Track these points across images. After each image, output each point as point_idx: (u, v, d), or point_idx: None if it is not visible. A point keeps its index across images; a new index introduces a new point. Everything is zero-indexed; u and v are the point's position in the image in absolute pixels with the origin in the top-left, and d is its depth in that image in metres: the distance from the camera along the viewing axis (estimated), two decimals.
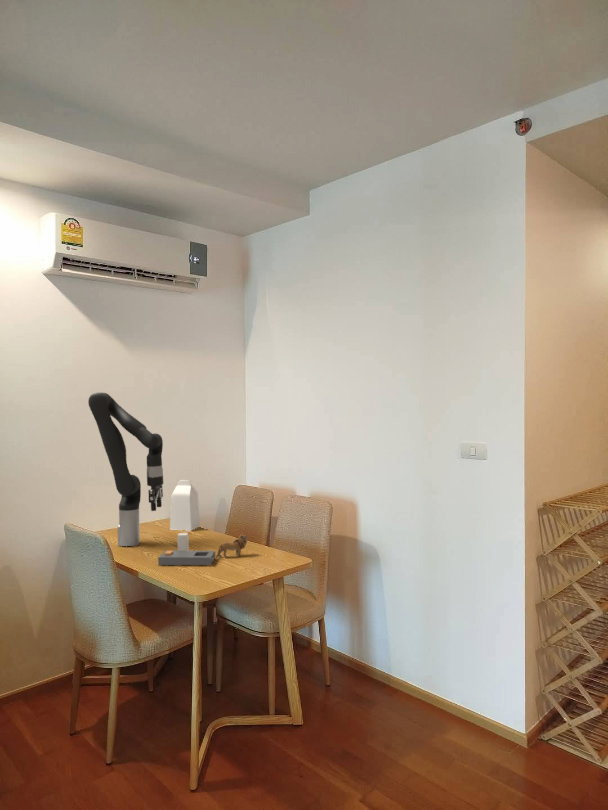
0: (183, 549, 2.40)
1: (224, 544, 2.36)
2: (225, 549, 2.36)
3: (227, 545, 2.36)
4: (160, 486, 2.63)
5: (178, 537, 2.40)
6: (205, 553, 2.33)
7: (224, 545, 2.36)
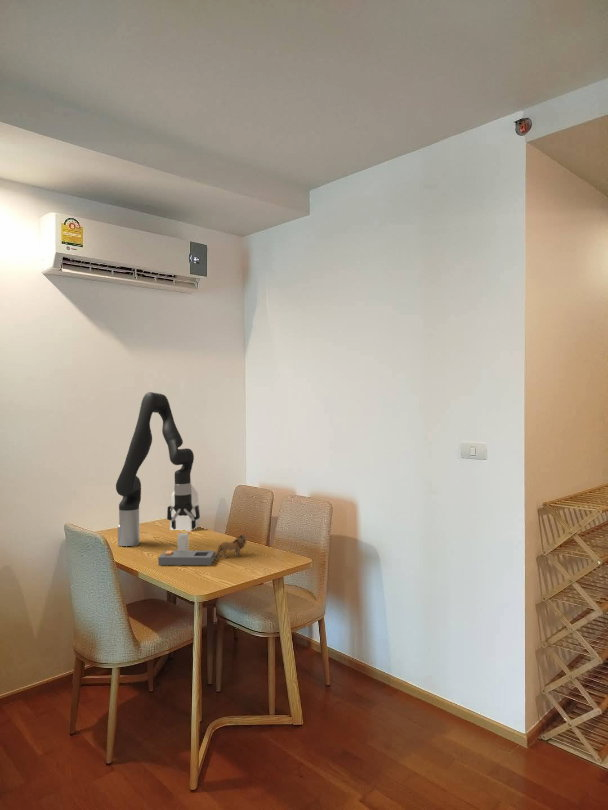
0: (183, 549, 2.40)
1: (224, 544, 2.36)
2: (225, 549, 2.36)
3: (227, 545, 2.36)
4: None
5: (178, 537, 2.40)
6: (205, 553, 2.33)
7: (224, 545, 2.36)
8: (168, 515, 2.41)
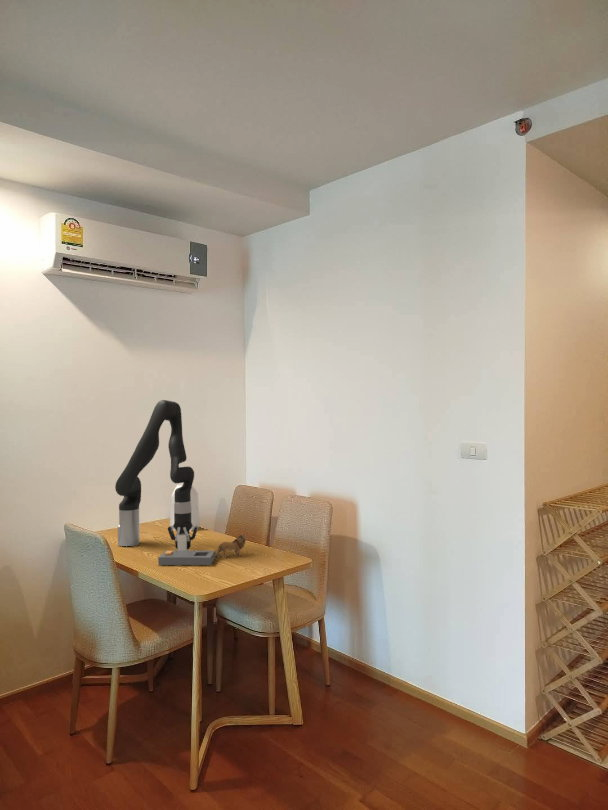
0: (183, 549, 2.40)
1: (223, 544, 2.36)
2: (224, 549, 2.36)
3: (226, 545, 2.36)
4: None
5: (178, 537, 2.40)
6: (205, 553, 2.33)
7: (224, 545, 2.36)
8: (171, 535, 2.41)
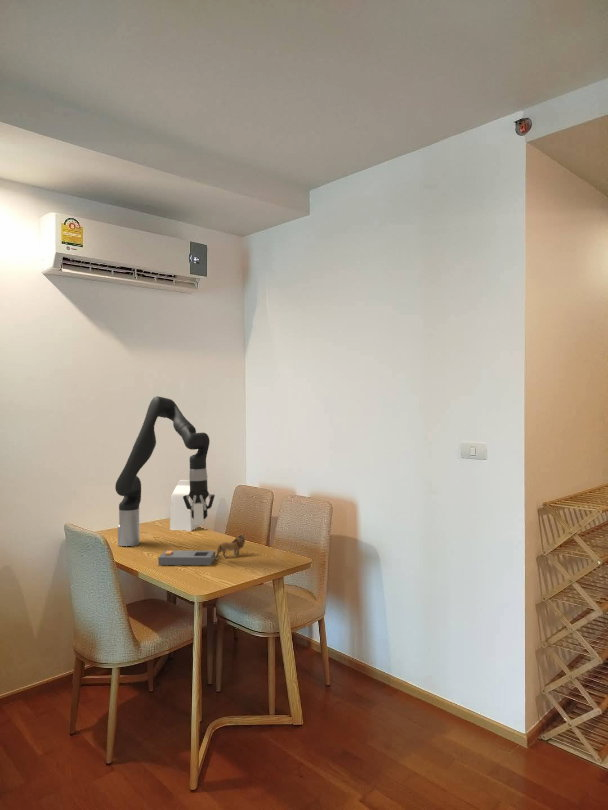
0: (200, 518, 2.30)
1: (223, 544, 2.36)
2: (224, 549, 2.35)
3: (226, 545, 2.36)
4: None
5: (194, 506, 2.30)
6: (205, 553, 2.33)
7: (224, 545, 2.36)
8: (187, 504, 2.31)
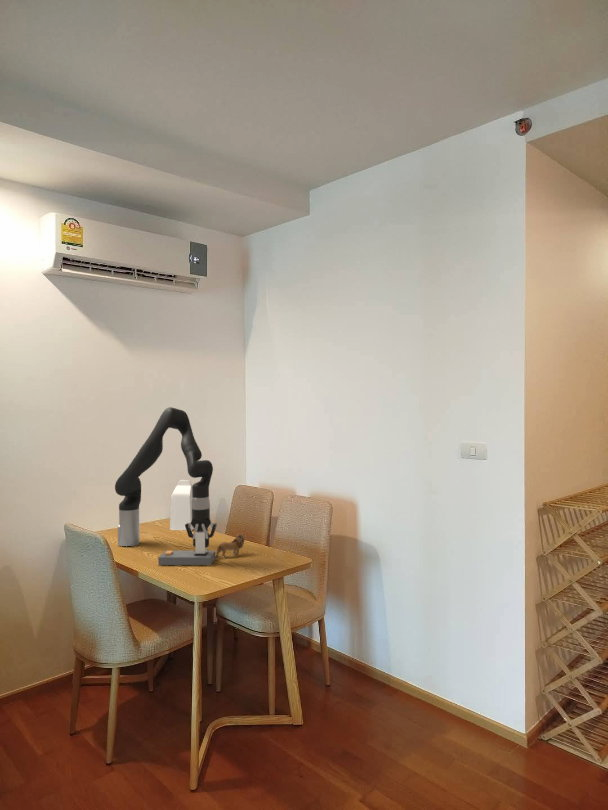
0: (202, 547, 2.28)
1: (223, 544, 2.36)
2: (224, 549, 2.35)
3: (226, 545, 2.36)
4: None
5: (196, 534, 2.28)
6: (205, 553, 2.33)
7: (223, 545, 2.36)
8: (188, 533, 2.29)
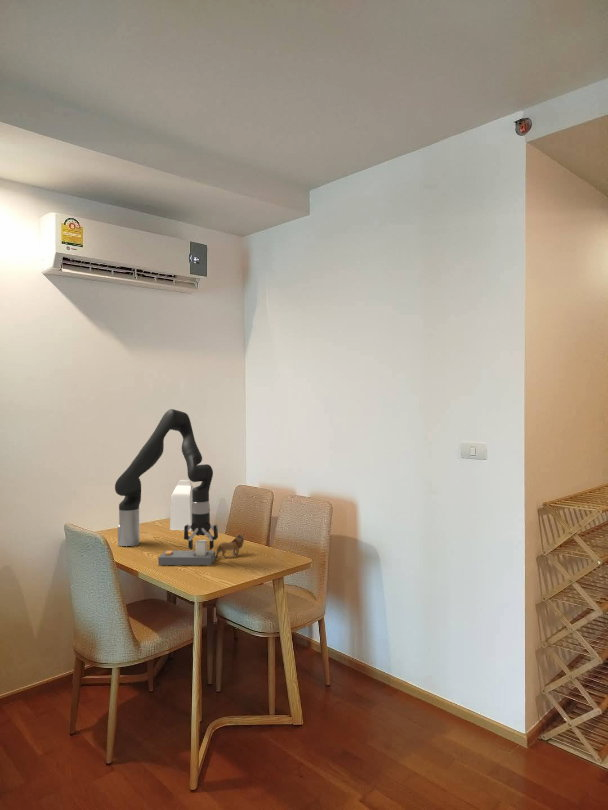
0: None
1: (223, 544, 2.35)
2: (224, 549, 2.35)
3: (226, 545, 2.36)
4: None
5: (196, 544, 2.28)
6: None
7: (223, 545, 2.35)
8: (185, 534, 2.29)
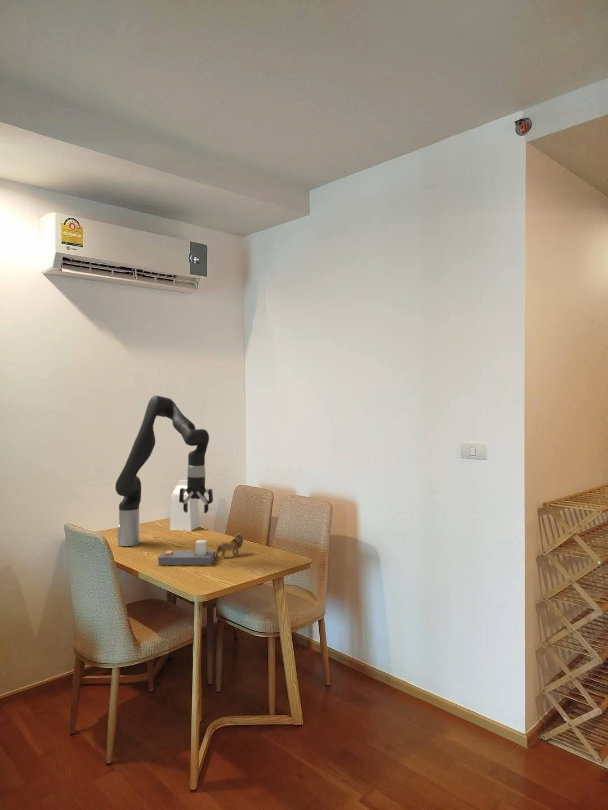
0: None
1: (223, 544, 2.35)
2: (224, 549, 2.35)
3: (226, 545, 2.36)
4: (183, 489, 2.34)
5: (196, 544, 2.28)
6: None
7: (223, 545, 2.35)
8: (180, 497, 2.32)
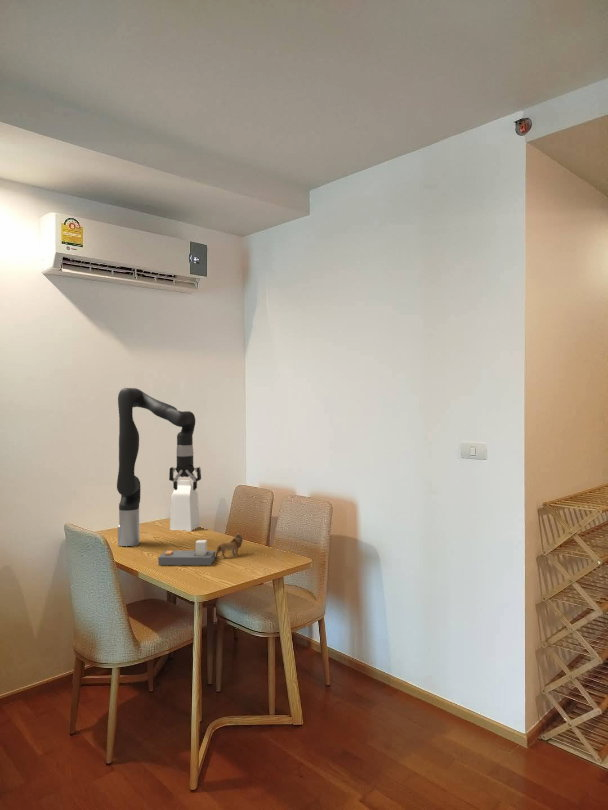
0: None
1: (223, 544, 2.35)
2: (224, 549, 2.35)
3: (225, 545, 2.36)
4: (173, 468, 2.48)
5: (196, 544, 2.28)
6: None
7: (223, 545, 2.35)
8: (170, 476, 2.46)
